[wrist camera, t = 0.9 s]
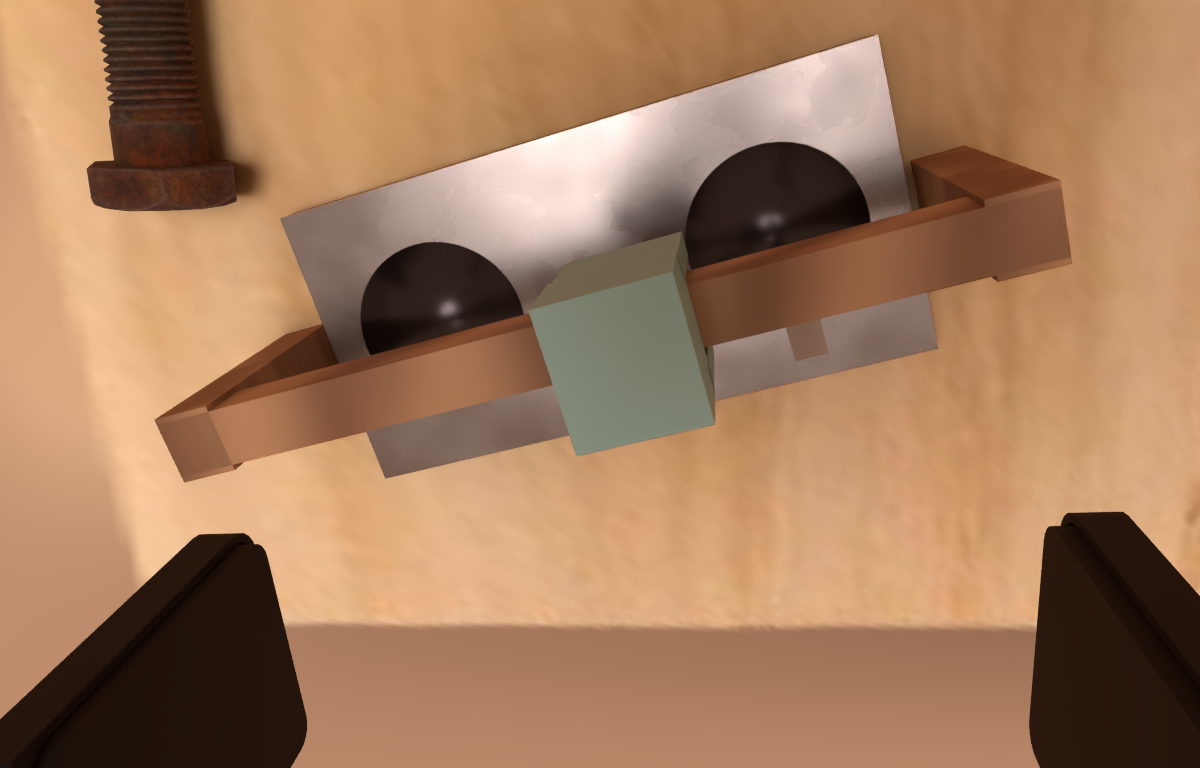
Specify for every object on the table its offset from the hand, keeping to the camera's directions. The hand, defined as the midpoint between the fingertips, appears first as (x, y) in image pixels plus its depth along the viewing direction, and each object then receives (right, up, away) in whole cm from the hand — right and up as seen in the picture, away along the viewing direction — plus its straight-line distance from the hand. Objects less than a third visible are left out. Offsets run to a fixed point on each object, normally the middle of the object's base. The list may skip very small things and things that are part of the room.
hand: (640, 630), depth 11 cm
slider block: (+1, +7, +25) cm, 26 cm away
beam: (0, +7, +27) cm, 28 cm away
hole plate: (0, +7, +27) cm, 28 cm away
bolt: (-17, +18, +25) cm, 35 cm away
